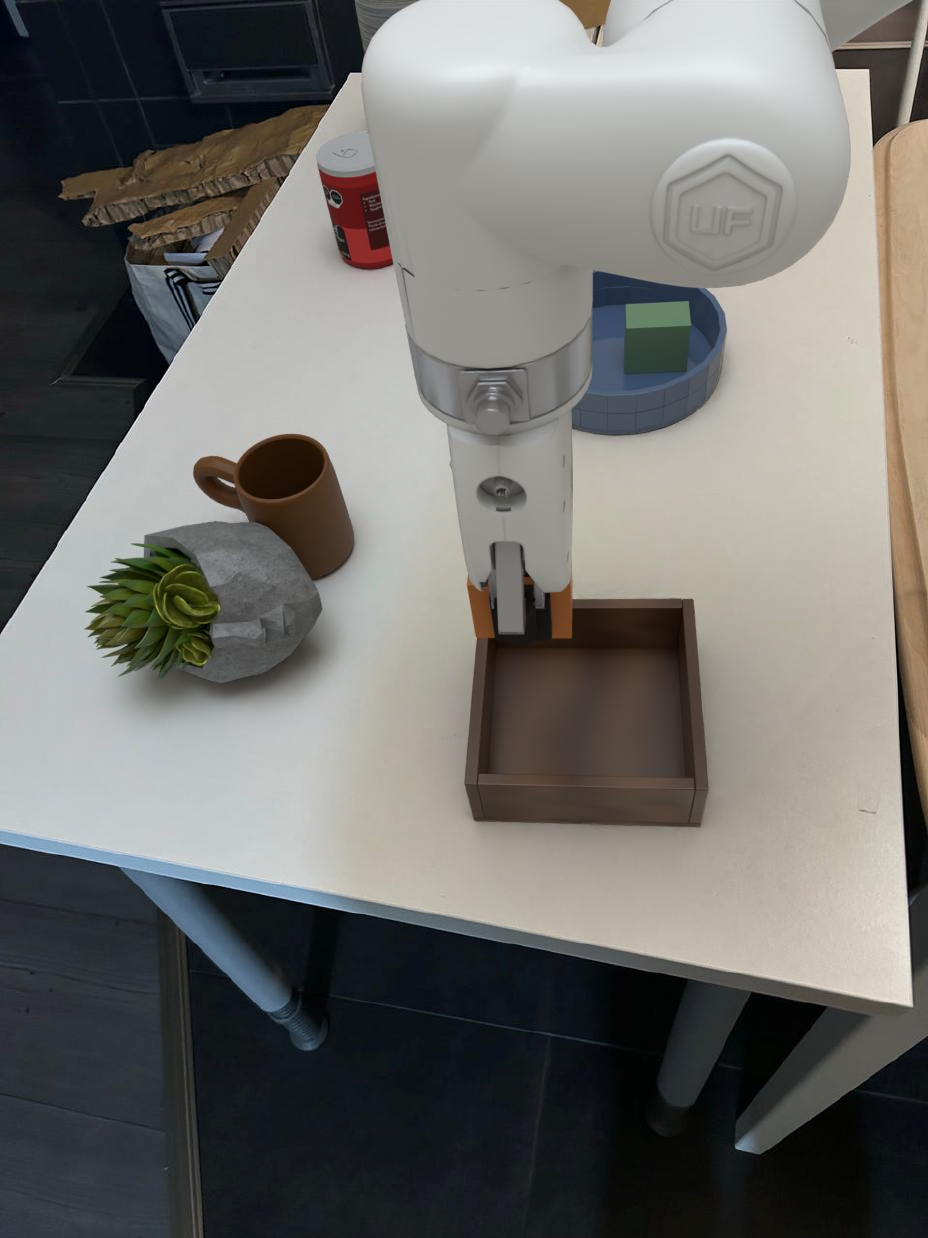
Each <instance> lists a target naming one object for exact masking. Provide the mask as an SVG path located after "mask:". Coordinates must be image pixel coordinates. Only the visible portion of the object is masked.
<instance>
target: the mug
mask: <svg viewBox="0 0 928 1238" xmlns="http://www.w3.org/2000/svg"><path fill="white" fill-rule="evenodd" d="M192 475H193V476H192V477H193V479H194V482H195V484H196V485H197V486H198V489H199V490H200V491H201V492H202V493H203V494H205V496H207V497H209V499H211V500H212V501H214V502H215V503H217V504H219V505H222V506H224V507H227V508H230V509H234V510H238V511H240V512H242V513H244V515H245V516H246V519H247V522H256V523H259V524H261V525H263V526H266V527H268V528H269V529H271V530H272V531H273V532H274V533H275V534H276V535H277V536H278V537H280V538H281V539H282V540H283V541H284V542H285V543H286V544H287V545H288V546H290V547H291V548H292V550H293V551H294V553H295V554H296V556H297V557H298V559H299V560H300V562H301V564H302V565H303V567H304V568H305V570H306V571H307V573H308V575H309V576H310V578H311V580H313V579H317V578H320V577H324V576H326V575H329V574H330V573H332V572H333V571H335V570H336V569H338V568H340V566H341V565H342V564H343V563H344V562H345V561H346V560H347V558H348V557H349V555H350V554H351V551H352V549H353V546H354V540H355V533H354V528H353V524H352V523H353V522H352V519H351V517H350V514H349V510H348V508H347V503H346V501H345V498H344V494H343V492H342V487H341V486H340V482H339V478H338V475H337V472H336V469H335V466H334V464H333V463H332V460H331V458H330V455H329V453H328V451H327V449H326V448H325V447H324V445H323V444H322V443H321V442H319V441H318V440H317V439H315V438H313V437H311V436H309V435H305V434H300V433H283V434H277V435H273V436H270V437H269V436H268V437H267V438H265V439H262V440H260V441H258V442H256V443H255V444H253V445H252V446H250V447H249V448H248V449H247V450H246V451H244V453H243V454H242V455H241V456H240V458H239V459H238V461H237V462H235V461H233V460H230V459H228V458H225V457H223V456H220V455H208V456H203V457H201V458H199V459H198V460H197V461H196V462H195V463H194V465H193V469H192ZM222 480H223V481H225V482H227V483H229V484H233V485H234V486H231V485H229V484H226V483H225V482H223V481H222Z"/></svg>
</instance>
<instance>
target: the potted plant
mask: <svg viewBox="0 0 928 1238" xmlns="http://www.w3.org/2000/svg"><path fill="white" fill-rule="evenodd" d="M143 536H144V537H143V543H141V542H140V543H137V542H136V543H135V542H134V543H130V545H132V546H135V547H139V548H140V547H141V548H143V557H129V558H128V557H127V558H118V557H115V558H114V559H115V560H111V561H110V563H111V564H113V563H114V564H120V565H122V566H126V567H122V568H121V567H120V568H112V569H108V570H109V572H113V573H110V574H106V575H102V576H99V578H100V579H104V580H101V581H98V583H100V584H95V585H94V584H92V585H88V586H86V588H89V589H92V590H94V591H95V592H97V593H99V594H101V595H100V596H99V598H101V600H99V601H97V602H96V603H94V604H92V605H91V606H90V609H88V610H85V611H84V613H89V614H90V613H91V614H96V615H97V614H98V615H97V616H95V617H94V618H93V619H92V620H91V621H90V623H89V625H88V626H86V627H85V628H84V630H87V631H91V633H90V634H89V635H88V636H87V638H90V637H95V638H94V639H95V641H94V642H93V645H94V644H95V645H96V648H95V650H96V651H98V650H102V649H115V648H119V647H121V648H119V649H117V650H114V651H111V652H109V653H107V654H105V655H103V656H101V657H100V658H101V659H103V658H104V659H106V658H110V657H116V656H117V658H116V659H115V661H114V662H113V663H112V665H110V667H114V666H116V665H122V664H125V663H127V665H126V666H125V667H126V669H125V670H124V671H123V672H121V673H120V674H119V675H117V678H119V677H122V676H124V675H127V674H130V673H131V672H133V671H134V672H137V671H139V670H141V669H143V668H145V667H146V666H148V665H150V664H151V663H152V662H153V663H152V664H151V665H150V667H149V668H148V671H149V670H152V671H156V670H157V669H158V668H159V671H158V675H157V678H156V681H157V680H159V679H160V680H162V679H163V678H165V677H166V676H168V674H169V673H170V672H171V671H172V670H173V669H174V668H176V669H178V670H179V672H182V671H184V672H186V673H189V674H191V675H194V676H197V677H199V678H202V679H205V680H208V681H210V682H215V683H219V684H224V683H228V682H231V681H235V680H239V679H243V678H247V677H251V676H255V675H260V674H264V673H267V672H268V671H270V670H271V669H273V668H274V667H275V666H277V665H278V664H280V663H281V662H282V661H285V659H287V658H288V657H289V656H291V655H292V653H294V651H295V650H296V648H297V647H298V646H299V645H300V644H301V642H302V641H303V640H304V639H305V637H306V636H307V635H308V634H309V632H310V631H311V630H312V628H313V627H314V626H315V624H316V623H317V621H318V619H319V618H320V615H321V613H322V611H323V603H322V600H321V596H320V592H319V590H318V588H317V587H316V585H315V583H314V581H313V579H311V578H310V576H309V575H308V573H307V571H306V570H305V568H304V567H303V565H302V564H301V562H300V560H299V559H298V557H297V556H296V554H295V553H294V551H293V550H292V548H291V547H290V546H288V545H287V544H286V543H285V542H284V541H283V540H282V539H281V538H280V537H278V536H277V535H276V534H275V533H274V532H273V531H272V530H271V529H269V528H268V527H266V526H263V525H261V524H259V523H256V522H249V521H242V522H225V521H218V520H214V521H208V522H207V521H206V522H200V523H199V522H198V523H193V524H186V525H181V526H178V527H177V526H176V527H173V528H169V529H165V530H160V531H156V532H152V533H148V534H144V535H143ZM96 636H97V637H96ZM122 646H123V647H122Z"/></svg>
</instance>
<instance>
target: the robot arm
mask: <svg viewBox="0 0 928 1238" xmlns="http://www.w3.org/2000/svg"><path fill="white" fill-rule="evenodd" d="M912 1H914V0H610V2H609V5H608V9H607V11H606V12H607V13H606V17H605V21H604V26H603V27H604V28H603V33H602V43H601V46H598V45H596V44H595V43H593V42H592V41H591V39H590V38H589V36H588V34H587V32H586V29H585V26H584V24H583V23H582V22H581V20H580V19H579V18H578V16H577V14H575V12H574V11H573V10H572V9H571V8H570V7H569V6H567V5H566V4H564V3H563V2H561V1H560V0H420V1H418V2H415V3H413V4H411V5H409V6H407V7H405V8H403V9H402V10H400V11H399V12H397V13H396V14H394V15H393V16H392V17H390V18H389V19H388V20H387V21H386V22H385V23H384V24H383V25H382V26H381V27H380V29H379V30H378V31H377V32H376V34H375V35H374V36H373V38H372V39H371V41H370V44H369V46H368V48H367V51H366V54H364V56H363V61H362V66H361V82H360V88H361V89H360V90H361V96H362V103H363V110H364V117H365V122H366V128H367V132H368V133H369V139H370V144H371V149H372V154H373V160H374V165H375V170H376V175H377V181H378V186H379V191H380V196H381V201H382V207H383V212H384V217H385V222H386V228H387V233H388V238H389V243H390V248H391V254H392V259H393V268H394V274H395V278H396V283H397V289H398V294H399V298H400V304H401V309H402V314H403V319H404V326H405V327H404V328H405V331H406V337H407V343H408V348H409V353H410V359H411V363H412V364H411V365H412V369H413V374H414V378H415V384H416V388H417V393H418V396H419V399H420V401H421V403H422V404H423V405H424V407H425V408H426V410H427V411H428V412H429V413H431V414H432V415H433V416H434V417H435V418H436V419H438V420H439V421H441V422H443V423H444V424H446V433H447V442H448V449H449V450H448V451H449V459H450V461H449V467H450V469H451V474H452V483H453V492H454V499H455V505H456V511H457V512H456V513H457V519H458V526H459V533H460V538H461V545H462V551H463V557H464V562H465V566H466V571H467V576H468V575H469V578H470V581H471V583H472V584H473V585H474V586H475V587H476V588H477V589H478V590H479V591H481V592H483V589H484V588H488V581H489V588H490V592H489V601H490V608H491V615H492V622H493V629H494V636H495V638H496V639H497V640H501V641H511V642H514V643H530V642H533V641H548V640H550V639H551V638H552V619H551V601H550V592H561V591H563V590H564V589H565V588H566V587H567V585H568V584H569V582H570V578H571V562H572V563H573V523H574V522H573V519H574V518H573V516H574V515H573V514H574V513H573V512H574V510H573V509H574V465H573V464H574V463H573V460H574V459H573V428H572V413H571V409H572V408H573V407H574V406H575V405H576V404H577V403H578V402H579V401H580V400H581V399H582V397H583V396H584V394H585V392H586V391H587V389H588V387H589V384H590V381H591V378H592V302H593V270H595V271H600V272H605V273H610V274H616V275H620V276H625V277H630V278H635V279H640V280H645V281H650V282H655V283H660V284H667V285H674V286H682V287H693V288H706V289H721V288H733V287H738V286H739V287H740V286H741V287H742V286H747V285H750V284H753V283H758V282H760V281H763V280H766V279H769V278H770V277H773V276H775V275H777V274H779V273H782V272H783V271H785V270H787V269H788V268H790V267H792V266H794V265H795V264H796V263H797V262H798V261H800V260H801V259H803V258H804V257H805V256H807V254H808V253H811V251H812V250H813V248H815V247H816V246H817V244H818V243H819V242H820V241H821V240H822V239H823V238H824V236H825V235H826V234H827V232H828V231H829V229H830V227H831V226H832V224H833V223H834V221H835V219H836V217H837V214H838V213H839V210H840V208H841V207H842V204H843V201H844V199H845V195H846V191H847V187H848V182H849V178H850V172H851V166H852V165H851V163H852V162H851V160H852V147H851V145H852V144H851V133H850V123H849V119H848V115H847V110H846V106H845V101H844V97H843V93H842V89H841V86H840V85H841V84H840V81H839V77H838V74H837V69H836V65H835V60H834V55H833V52H835V51H836V50H838V49H839V48H840V47H842V46H843V45H845V44H846V43H848V42H850V41H851V40H852V39H854V38H855V37H857V36H858V35H860V34H861V33H863V32H865V31H866V30H868V29H869V28H871V27H872V26H873V25H876V23H878V22H880V21H881V20H883V19H885V18H886V17H888V16H890V15H891V14H892V13H894V12H896V11H897V10H899V9H900V8H902V7H905V5H908V4H909V3H911V2H912ZM524 577H531V578H532V579H533V584H524Z"/></svg>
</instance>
